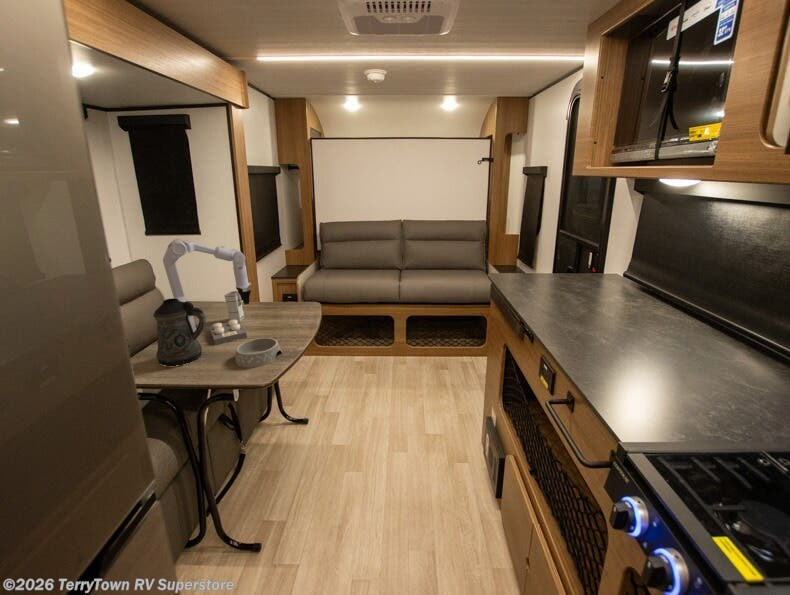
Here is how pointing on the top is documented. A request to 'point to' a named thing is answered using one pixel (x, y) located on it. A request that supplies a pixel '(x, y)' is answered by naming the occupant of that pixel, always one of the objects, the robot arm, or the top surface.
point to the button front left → (219, 330)
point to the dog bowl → (257, 352)
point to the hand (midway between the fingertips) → (245, 302)
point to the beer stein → (178, 332)
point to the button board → (228, 334)
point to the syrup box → (234, 306)
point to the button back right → (232, 322)
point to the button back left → (217, 325)
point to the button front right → (235, 327)
